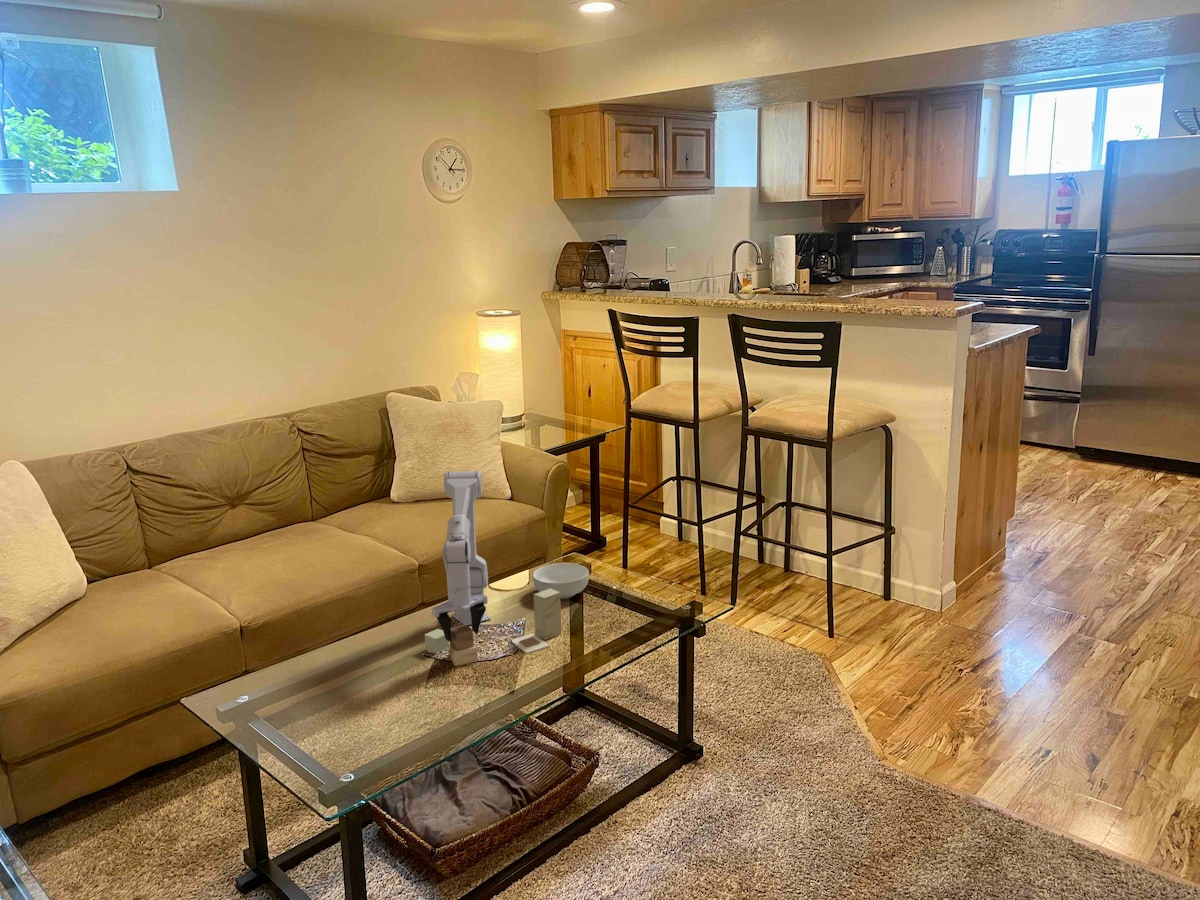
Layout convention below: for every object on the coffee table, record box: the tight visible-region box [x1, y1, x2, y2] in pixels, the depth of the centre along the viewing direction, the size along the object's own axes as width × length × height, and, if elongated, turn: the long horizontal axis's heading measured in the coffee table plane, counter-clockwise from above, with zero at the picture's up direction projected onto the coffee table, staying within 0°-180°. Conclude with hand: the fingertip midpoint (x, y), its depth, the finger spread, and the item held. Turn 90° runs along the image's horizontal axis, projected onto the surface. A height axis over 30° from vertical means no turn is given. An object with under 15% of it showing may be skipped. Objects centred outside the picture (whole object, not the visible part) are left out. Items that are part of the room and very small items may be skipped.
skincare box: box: [533, 588, 562, 641], centre depth 240 cm, size 6×4×12 cm
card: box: [511, 633, 551, 655], centre depth 236 cm, size 9×7×1 cm
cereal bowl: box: [532, 562, 590, 600], centre depth 268 cm, size 17×17×7 cm
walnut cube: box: [450, 624, 475, 651], centre depth 227 cm, size 4×4×4 cm
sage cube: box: [424, 628, 450, 655], centre depth 233 cm, size 4×4×4 cm
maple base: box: [448, 641, 479, 667], centre depth 228 cm, size 6×6×4 cm
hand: (461, 635), depth 227 cm, fingers open, 7 cm apart
